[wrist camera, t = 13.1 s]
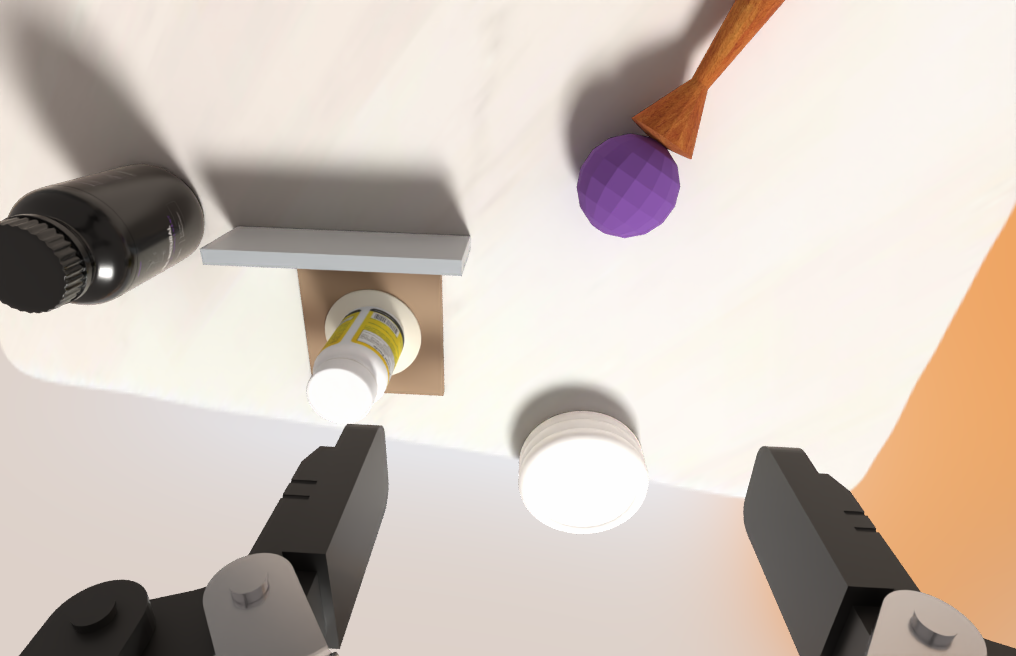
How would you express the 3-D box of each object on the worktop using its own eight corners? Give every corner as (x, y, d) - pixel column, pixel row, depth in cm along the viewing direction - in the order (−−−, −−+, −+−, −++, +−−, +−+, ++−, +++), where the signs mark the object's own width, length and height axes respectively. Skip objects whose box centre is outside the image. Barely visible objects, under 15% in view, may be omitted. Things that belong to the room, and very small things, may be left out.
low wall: (237, 226, 40) (199, 249, 36) (470, 235, 40) (461, 260, 35) (240, 240, 40) (203, 264, 36) (470, 249, 40) (461, 275, 35)
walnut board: (300, 263, 41) (295, 267, 40) (441, 269, 41) (439, 273, 40) (316, 385, 45) (312, 390, 45) (444, 391, 45) (442, 397, 44)
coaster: (528, 399, 45) (528, 426, 42) (655, 416, 45) (664, 444, 42) (511, 497, 50) (509, 528, 46) (626, 513, 50) (633, 544, 47)
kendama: (907, -70, 28) (652, 268, 34) (829, -56, 33) (619, 236, 40) (830, -160, 26) (572, 219, 32) (758, -130, 31) (549, 191, 37)
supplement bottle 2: (345, 362, 43) (304, 428, 36) (336, 304, 41) (291, 361, 34) (409, 363, 43) (381, 430, 36) (403, 304, 41) (373, 362, 34)
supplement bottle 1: (225, 248, 41) (113, 320, 30) (139, 268, 42) (0, 345, 31) (179, 149, 38) (37, 190, 27) (88, 173, 39) (-84, 222, 28)
